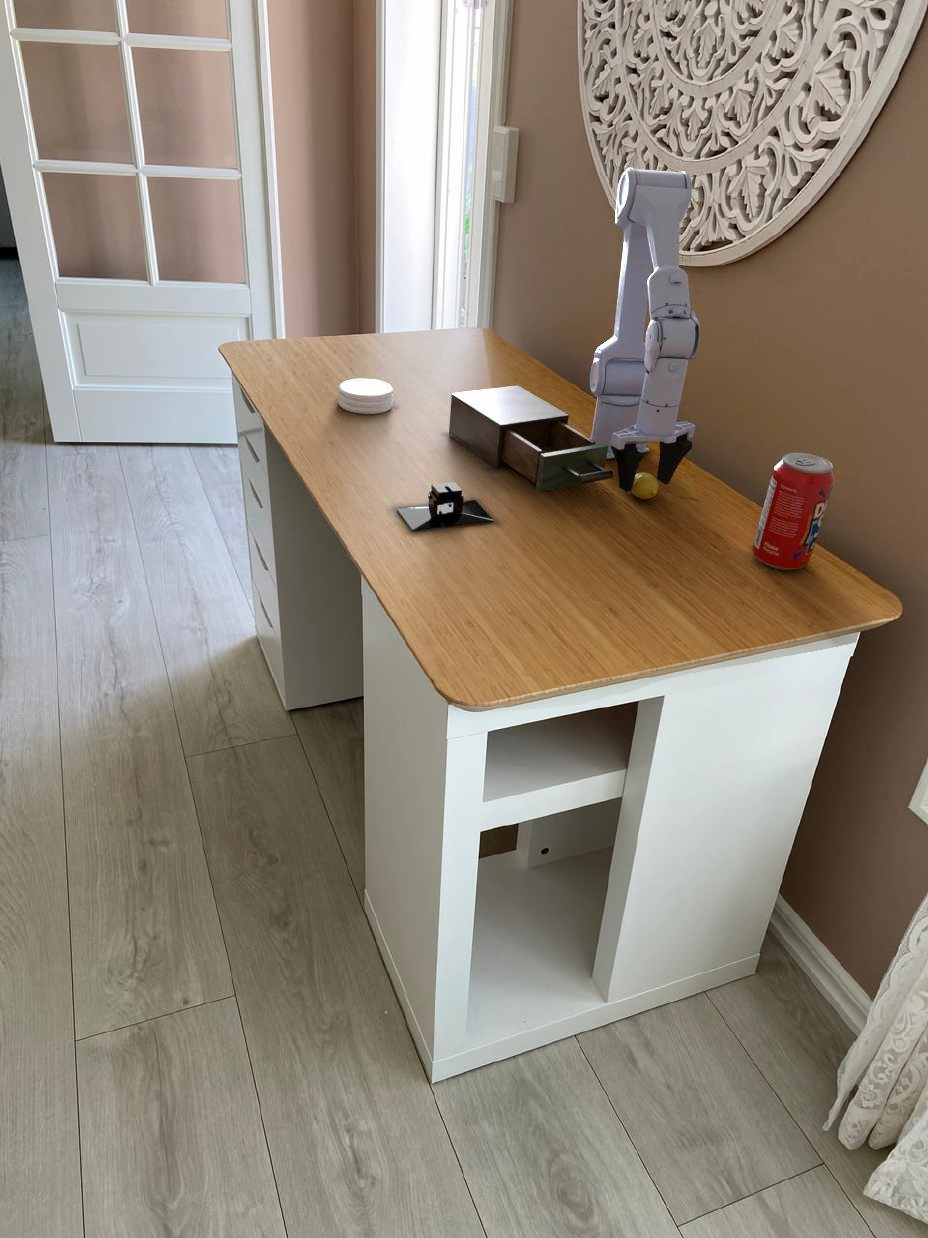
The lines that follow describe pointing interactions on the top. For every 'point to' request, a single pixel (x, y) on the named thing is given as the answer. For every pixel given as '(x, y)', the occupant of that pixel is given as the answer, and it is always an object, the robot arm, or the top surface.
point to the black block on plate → (444, 510)
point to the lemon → (644, 486)
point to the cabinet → (496, 418)
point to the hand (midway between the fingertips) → (644, 485)
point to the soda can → (793, 510)
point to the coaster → (365, 396)
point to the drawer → (554, 455)
